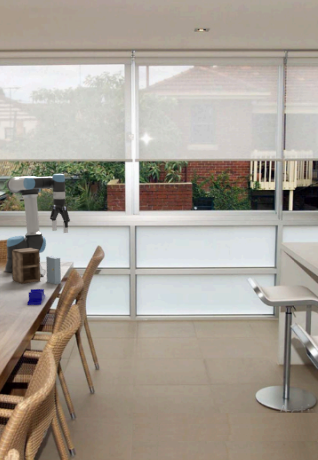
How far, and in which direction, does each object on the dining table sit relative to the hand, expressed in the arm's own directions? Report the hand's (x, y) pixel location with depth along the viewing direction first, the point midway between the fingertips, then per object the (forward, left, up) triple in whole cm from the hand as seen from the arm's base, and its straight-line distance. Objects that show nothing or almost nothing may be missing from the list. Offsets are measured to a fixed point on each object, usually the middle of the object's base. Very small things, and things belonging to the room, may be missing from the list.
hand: (60, 231), depth 381 cm
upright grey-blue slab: (+6, -9, -31) cm, 33 cm away
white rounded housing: (-22, -4, -31) cm, 38 cm away
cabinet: (-9, -20, -31) cm, 38 cm away
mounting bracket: (+40, -40, -31) cm, 65 cm away
